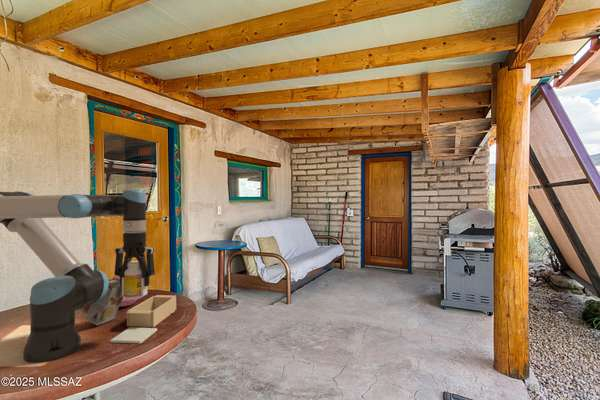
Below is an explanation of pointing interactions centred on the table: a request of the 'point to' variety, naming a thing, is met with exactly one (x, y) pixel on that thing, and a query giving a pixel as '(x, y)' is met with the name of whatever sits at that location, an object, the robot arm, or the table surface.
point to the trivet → (134, 335)
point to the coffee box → (106, 304)
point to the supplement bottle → (132, 281)
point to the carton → (151, 311)
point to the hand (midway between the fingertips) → (134, 294)
